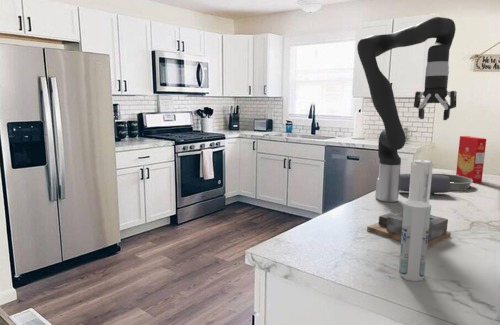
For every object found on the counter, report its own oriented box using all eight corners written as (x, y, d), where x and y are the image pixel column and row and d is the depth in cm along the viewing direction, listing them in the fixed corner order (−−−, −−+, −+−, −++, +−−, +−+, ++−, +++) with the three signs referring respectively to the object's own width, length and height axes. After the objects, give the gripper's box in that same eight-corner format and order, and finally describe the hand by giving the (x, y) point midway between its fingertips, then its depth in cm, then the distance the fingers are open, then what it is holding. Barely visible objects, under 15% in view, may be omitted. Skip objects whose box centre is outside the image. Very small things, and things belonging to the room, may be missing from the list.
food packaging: (455, 177, 224) (459, 136, 220) (463, 177, 224) (468, 136, 220) (472, 182, 209) (477, 138, 205) (481, 182, 210) (486, 138, 206)
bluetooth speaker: (443, 192, 188) (445, 173, 186) (449, 197, 179) (451, 177, 177) (396, 190, 192) (397, 171, 190) (400, 194, 183) (401, 175, 181)
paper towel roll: (426, 230, 129) (432, 159, 125) (426, 236, 124) (433, 162, 119) (406, 227, 132) (412, 158, 128) (405, 233, 126) (411, 161, 122)
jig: (366, 230, 133) (368, 213, 132) (394, 220, 144) (395, 204, 143) (423, 249, 117) (425, 229, 116) (450, 236, 128) (452, 218, 126)
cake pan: (471, 193, 186) (472, 185, 185) (418, 187, 199) (419, 179, 198) (472, 184, 207) (473, 176, 206) (424, 179, 219) (425, 171, 219)
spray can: (397, 268, 103) (402, 199, 100) (422, 271, 101) (428, 201, 98) (399, 279, 97) (405, 206, 94) (426, 283, 95) (433, 208, 92)
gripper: (412, 75, 138) (409, 119, 141) (453, 73, 127) (449, 120, 130) (421, 76, 143) (418, 118, 146) (461, 74, 132) (457, 119, 135)
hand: (433, 119), depth 138 cm, fingers open, 8 cm apart
